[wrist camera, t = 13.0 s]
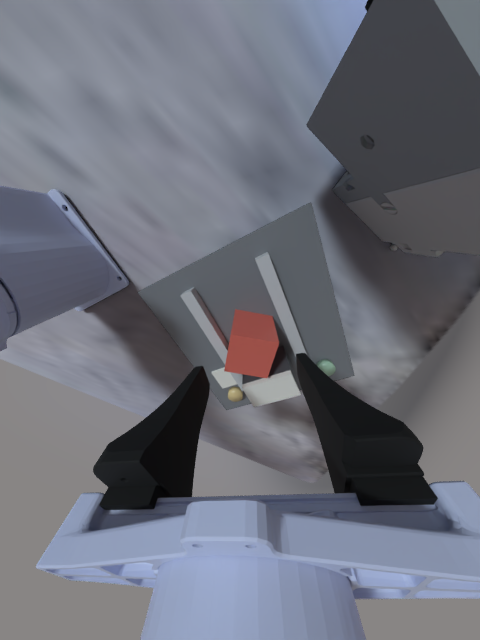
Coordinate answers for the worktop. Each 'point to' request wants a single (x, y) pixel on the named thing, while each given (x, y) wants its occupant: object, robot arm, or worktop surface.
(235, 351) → the red rectangular block
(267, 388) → the breaker handle
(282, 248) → the breaker panel
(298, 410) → the worktop surface
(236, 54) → the worktop surface
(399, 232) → the circuit breaker
